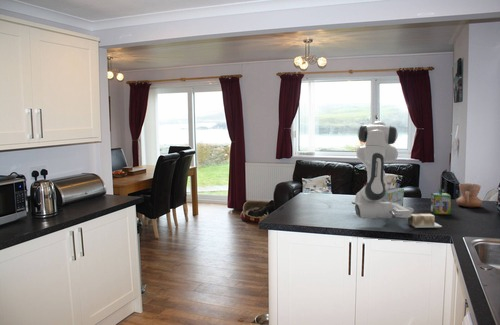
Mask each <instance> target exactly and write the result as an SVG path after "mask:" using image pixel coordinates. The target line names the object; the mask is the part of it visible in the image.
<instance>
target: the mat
mask: <svg viewBox="0 0 500 325" xmlns="http://www.w3.org/2000/svg"><path fill="white" fill-rule="evenodd" d="M411 226H412V227H414V228H416V229H417V228H422V229H423V228H424V229H425V228H443V226H442V225H440V224H439V223H437V222H434V225H411Z"/></svg>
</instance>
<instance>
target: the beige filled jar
mask: <svg viewBox="0 0 500 325" xmlns="http://www.w3.org/2000/svg"><path fill="white" fill-rule="evenodd" d="M435 217H436V216H435V214H432V213H411V217H410V218H407V224H409V225H410V226H412V225H434V222H435V220H436V219H435ZM435 223H436V222H435Z"/></svg>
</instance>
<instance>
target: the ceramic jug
mask: <svg viewBox="0 0 500 325" xmlns="http://www.w3.org/2000/svg"><path fill="white" fill-rule="evenodd" d="M458 187H459V192H460V194H461V196H459V197H458V198H456V203H457V204H458V205H459V206H461V207H464V208H469V209H470V208H474V209H475V208H478V207H481V206H482V205H483V201H482V199H481V198H480V197H478V195H479V193H480V191H481V188H482V186H481V185H480V184H477V183H476V184H475V183H465V182H464V183H459V184H458Z"/></svg>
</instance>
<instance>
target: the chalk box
mask: <svg viewBox="0 0 500 325" xmlns="http://www.w3.org/2000/svg"><path fill="white" fill-rule="evenodd" d="M437 189H438V192H431V193H430V212H432V213H433V215H451V208H452V207H451V206H452V204H451V200H452V196H451V195H450V193H447V192H442V189H441V188H439V187H438V188H437Z"/></svg>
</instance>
